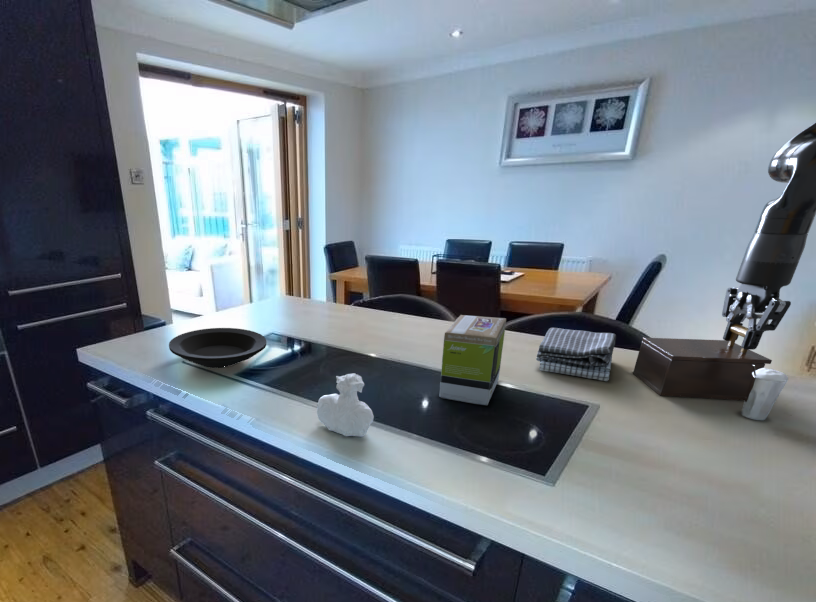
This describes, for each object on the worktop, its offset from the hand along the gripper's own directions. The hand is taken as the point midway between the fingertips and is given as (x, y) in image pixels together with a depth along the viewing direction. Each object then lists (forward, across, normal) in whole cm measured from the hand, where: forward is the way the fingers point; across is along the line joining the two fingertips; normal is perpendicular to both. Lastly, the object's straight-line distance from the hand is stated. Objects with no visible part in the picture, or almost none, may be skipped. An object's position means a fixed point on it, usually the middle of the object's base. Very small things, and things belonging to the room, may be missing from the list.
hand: (738, 344), depth 89 cm
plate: (+10, 0, +114) cm, 114 cm away
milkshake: (+10, -14, +3) cm, 17 cm away
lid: (+2, 0, +6) cm, 6 cm away
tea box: (+10, -9, +52) cm, 53 cm away
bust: (+10, -30, +76) cm, 82 cm away
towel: (+10, +10, +26) cm, 29 cm away
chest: (+10, 0, +6) cm, 12 cm away
